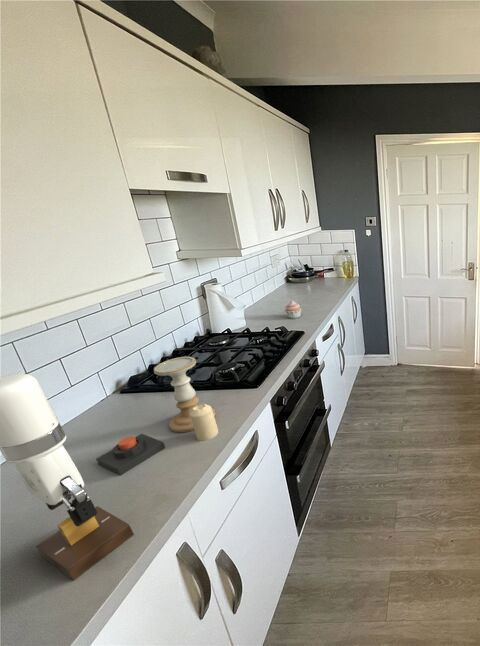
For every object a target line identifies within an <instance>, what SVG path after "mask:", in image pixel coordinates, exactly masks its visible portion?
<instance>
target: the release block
mask: <svg viewBox="0 0 480 646" xmlns="http://www.w3.org/2000/svg"><path fill="white" fill-rule="evenodd" d="M134 437H135V439H136V441H137V444H136V445H135V446H133V447H132V448H129V449H126V450H120V448H119V445H118V443H117V444H116V445H115V446H114V447H113V448H112V449H111V450H109V451H107V452H105V453H104V454H102V455H100V456H98V457H97V458H95V461H96V462H97V464H98V466H100V467H102V468H104V469H106V470H108V471H110V472H112V473H114V474H116V475H118V476H119V477H120V476H122V475H124V474H126V473H127V472H129V471H131V470H132V469H134V468H135V467H137V466H139V465H140V464H142V463H144V462H146V461H147V460H148V459H150V458H152V457H154V456H155V455H156V454H158V453H160V452H162V451H163V450H165V449H166V446H165V444H164V442H163V440H159V439H157V438H154V437H152V436H149V435H147V434H144V433H140V434H138V435H136V436H134Z"/></svg>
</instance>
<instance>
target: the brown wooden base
mask: <svg viewBox="0 0 480 646" xmlns="http://www.w3.org/2000/svg"><path fill="white" fill-rule="evenodd" d="M94 507H95V509H96V511H97V514H96V515H95V516H94V517H95V519H96V521H97V523H98V525H99V527H98V528H96V529H95V530H93V531H92V532H90V533H89V534H88V535H86V536H85V537H83V538H82V539H80V540H79V541H77V542H76V543H75V544H73V545H72V546H70V545H69V544H67V542H66V540H65V539H64V537H63V535H62V533H61V532H60V530H58V531H57V532H55V533H54V534H52V535H51V536H49V537H48V538H46V539H45V540H42V541H41V542H39V543H38V544H37V545H35V547H36V550H38V552H39V554H40V555H41V557H42V558H43V559H45V560H46V561H47V562H48V563H50V564H51V565H53V566H54V567H55V568H57V570H59V571H61V572H62V573H63V574H64V575H65V576H67V577H69V578H70V579H71V580H72V581H75V580H77V579H78V578H79V577H80V576H82V575H83V574H85V572H87V571H89V569H91V568H92V567H94V566H95V565H96V564H97V563H99V562H100V561H101V560H103V559H104V558H106V557H107V556H108V555H109V554H111V553H112V552H113V551H114V550H116V549H117V548H118V547H119V546H121V545H122V544H124V543H125V542H127V540H129V539H130V538H131V537H133V536H134V535H135V534H134V531H133V529H132V527H131V525H130V524H129V523H128V522H126V521H124V520H123V519H121V518H118V517H117V516H116V515H114V514H112V513H110V512H108V511H107V510H105V509H103V508H102V507H99V506H94Z"/></svg>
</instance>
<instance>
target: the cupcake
mask: <svg viewBox="0 0 480 646" xmlns="http://www.w3.org/2000/svg"><path fill="white" fill-rule="evenodd" d="M302 309H303V308H302V307H301V306H300V304H299V303H297V302H296V301H294V300H290V302H289V303H287V305H286V306H285V310H284V311H285V313H286V314H287V315H286V316H287V317H288V319H290V320H295V319H298V318H300V317H301V314H302Z"/></svg>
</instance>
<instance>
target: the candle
mask: <svg viewBox="0 0 480 646" xmlns="http://www.w3.org/2000/svg"><path fill="white" fill-rule="evenodd" d="M212 408H213V407H212V406H211V405H209V404H206V403H201V404H198V406H197V407H195V408H193V409H192V410H191V412H190V413H189V415H190V418H191V421H192V424H193V427H194V430H193V431H194V433H195V436H196V437H195V438H196V439H197V440H198V441H200V442H205V441H209V440H211V439H213V438H215V437H216V436H217V435H218V434H219V429H218V424H217V422H216V416H215V417H214V414H213V411H212Z"/></svg>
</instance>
